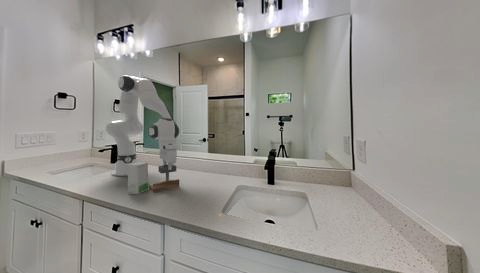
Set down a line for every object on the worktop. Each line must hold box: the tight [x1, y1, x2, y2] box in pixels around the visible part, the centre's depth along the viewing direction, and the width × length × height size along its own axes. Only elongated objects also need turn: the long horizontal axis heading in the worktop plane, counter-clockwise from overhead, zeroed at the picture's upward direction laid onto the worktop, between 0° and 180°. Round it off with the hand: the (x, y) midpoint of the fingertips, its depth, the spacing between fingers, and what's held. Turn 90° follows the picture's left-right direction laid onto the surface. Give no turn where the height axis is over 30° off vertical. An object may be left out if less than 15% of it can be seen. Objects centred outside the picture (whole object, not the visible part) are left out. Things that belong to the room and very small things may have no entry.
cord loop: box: [158, 163, 177, 174], centre depth 106 cm, size 6×8×3 cm
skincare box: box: [127, 161, 149, 195], centre depth 97 cm, size 8×7×16 cm
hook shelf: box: [148, 172, 180, 193], centre depth 105 cm, size 12×14×8 cm
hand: (167, 168), depth 106 cm, fingers closed on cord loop, 6 cm apart
